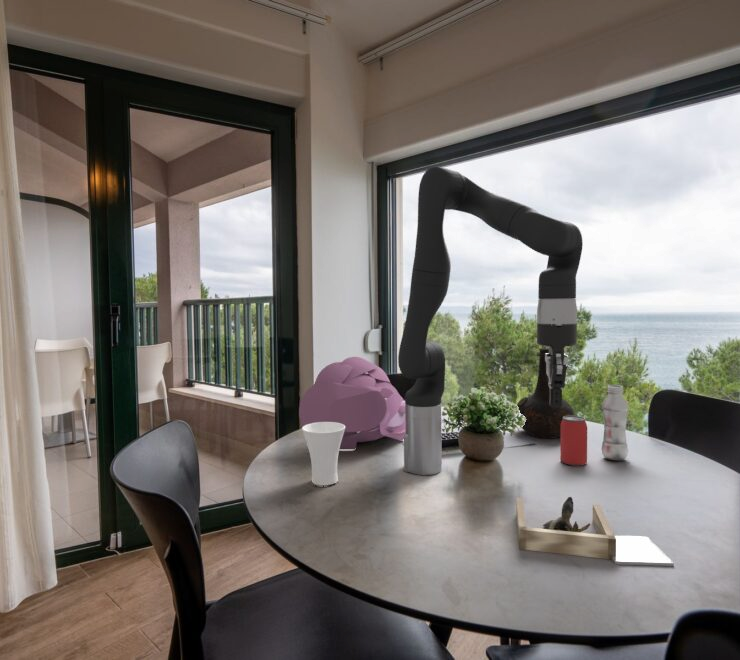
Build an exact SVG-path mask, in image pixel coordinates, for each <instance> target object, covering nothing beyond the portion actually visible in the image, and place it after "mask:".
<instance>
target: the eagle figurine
mask: <svg viewBox="0 0 740 660" xmlns="http://www.w3.org/2000/svg"><path fill="white" fill-rule="evenodd" d="M573 513H574V501H573V497H572V496H569V497H567V498H566V500H565V501H564V502H563V505H562V507H561V516H560V517H558V518H556V519H551V520H549V521H547V522H545V523H544V524H542V526H543V527H544V529H550V530H555V529H556V528H557V530H560V531H570V532H580V533H583V531H586V530H587V529H588V528H590V526H591V523H588V524H586V525H584V526H583V527H581V528H579V525H578V522H577V520H575V521H574V524H573V525H572V524H571V522H570V521H571V520H570V519H571V517H572V515H573Z"/></svg>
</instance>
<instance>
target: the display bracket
mask: <svg viewBox="0 0 740 660" xmlns="http://www.w3.org/2000/svg"><path fill="white" fill-rule="evenodd" d="M515 504H516V506H515V507H516V524H517V526H516V527H517V538H518V550H525V551H533V552H534V551H535V552H543V553H551V554H560V555H569V556H577V557H588V558H595V559H596V558H597V559H606V560H612V557H616V538H615V536H616V535H615V534H614V532H613V530H612V527H611V526H610V523H609V522H608V520H607V517H606V516H605V512H604V511H603V509H602V508H601V505H600V504H597V503H596V504H595V503H593V504H592V524H593V526H594V529H595V531H596V533H587V532H570V531H560V530H559V529H552V530H550V529H546V528H537V527H530V526H529V527H528V526H527V523H526V517H525V507H524V499H523V497H516V503H515Z"/></svg>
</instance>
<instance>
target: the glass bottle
mask: <svg viewBox="0 0 740 660" xmlns="http://www.w3.org/2000/svg"><path fill="white" fill-rule="evenodd" d="M538 350H539V352H538V353H536V356H537V357H539V361H538V373H537V381H536V386H535V389H534V393H533V394H532V395H530V396H524V397H523V398H521V399H520V400H519V401H518V402H517V404H516V407H517V406H518V407H519V410H520V413H521V414H523V415H524V416H525V417H526V419H527V420H526V422H525V425H524V426H523V427H522V428H521V429H522V430H523V431H524V432H526V433H528V434H529V435H531V436H533V437H538V438H542V439H555V438H561V422H562V420H563V417H564V416H576V413H575V409H574V408H573V406H572V405H571V404H570V403H569V402H568V401H566V400H565V399H563V398H562V407H561V408H553V407H551V406H550V388H549V386H548V375H547V374H546V361H545V354H549V348H546V347H543V348H539V349H538Z"/></svg>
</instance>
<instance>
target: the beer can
mask: <svg viewBox="0 0 740 660" xmlns="http://www.w3.org/2000/svg"><path fill="white" fill-rule="evenodd" d="M559 449H560V455H559V457H560V461H561V462H562V463H563V464H565V465H569V466H574V467H575V466H576V467H579V466H584V465H586V464H587V463H588V425H587V422H586V418H585V417H584V416H583V417H582V416H578V415H575V416H564V417H563V420H562V422H561V436H560V448H559Z"/></svg>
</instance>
